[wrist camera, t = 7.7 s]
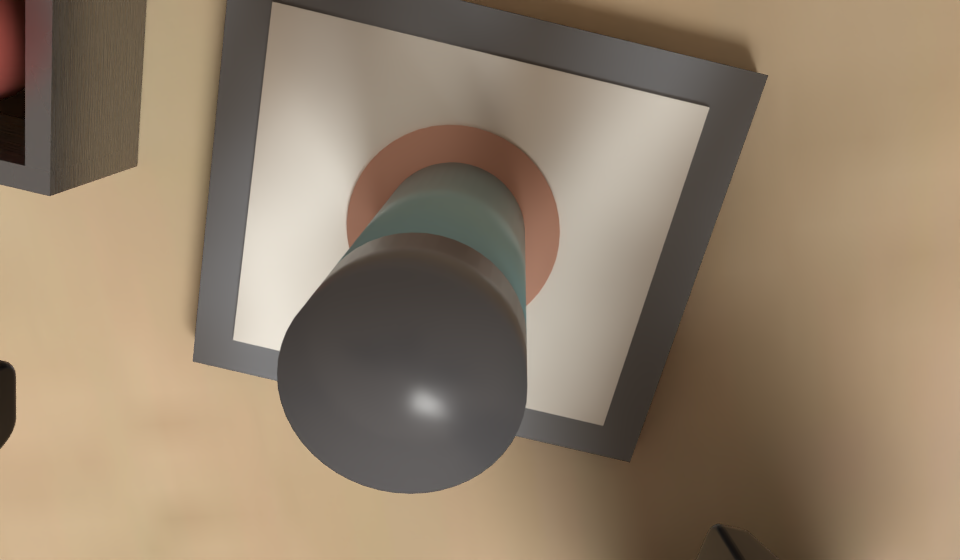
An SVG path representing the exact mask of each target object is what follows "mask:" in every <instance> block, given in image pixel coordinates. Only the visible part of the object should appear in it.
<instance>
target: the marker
mask: <svg viewBox="0 0 960 560" xmlns="http://www.w3.org/2000/svg"><path fill="white" fill-rule="evenodd" d="M277 382H278V391H279V395H280V400H281V404H282V406H283V409H284V412H285V415H286V417H287V419H288V421H289V423H290V425H291V427H292V429H293V430H294V432H295V433H296V435H297V436H298V437H299V439H300V440H301V442H302V443H303V444H304V445H305V446H306V447H307V449H308V450H309V451H310V452H311V453H312V454H313V455H314V456H315V457H316V458H318V459H319V460H320V461H321V462H322V463H323V464H325V465H326V466H328V467H329V468H330V469H332V470H333V471H335V472H336V473H338V474H340V475H342V476H343V477H345V478H347V479H349V480H351V481H354V482H356V483H359V484H361V485H363V486H367V487H370V488H374V489H377V490H381V491H387V492H393V493H407V494H414V493H428V492H434V491H440V490H444V489H447V488H451V487H454V486H457V485H459V484H461V483H464V482H466V481H468V480H470V479H472V478H474V477H475V476H477V475H479V474H481V473H482V472H483V471H485V470H486V469H487V468H489V467H490V466H491V465H492V464H494V463H495V462H496V461H497V460H498V458H499V457H500V456H501V455H502V454H503V453H504V452H505V451H506V449H507V448H508V447H509V445H510V444H511V443H512V441H513V439H514V437H515V435H516V434H517V432H518V430H519V427H520V425H521V422H522V419H523V417H524V412H525V407H526V402H527V329H526V265H525V226H524V220H523V215H522V212H521V209H520V207H519V204H518V202H517V201H516V199H515V197H514V195H513V194H512V193H511V191H510V190H509V189H508V188H507V187H506V185H505V184H504V183H503V182H502V181H500V180H499V179H498V178H497V177H495V176H494V175H492V174H491V173H489V172H488V171H486V170H483V169H481V168H479V167H476V166H473V165H470V164H464V163H455V162H448V163H439V164H435V165H431V166H428V167H425V168H423V169H421V170H419V171H417V172H415V173H413V174H412V175H411V176H409V177H408V178H407V179H405V180H404V181H403V182H402V183H401V184H400V185H399V187H398V188H397V189H396V190H395V192H394V193H393V194H392V195H391V197H390V198H389V199H388V200H387V202H386V203H385V204H384V205H383V207H382V208H381V209H380V210H379V212H378V213H377V214H376V216H375V217H374V218H373V219H372V221H371V222H370V223H369V224H368V226H367V227H366V228H365V229H364V231H363V232H362V233H361V234H360V236H359V237H358V238H357V239H356V241H355V242H354V243H353V244H352V246H351V247H350V248H349V249H348V251H347V252H346V253H345V254H344V256H343V257H342V258H341V260H340V261H339V262H338V263H337V265H336V266H335V267H334V268H333V270H332V271H331V272H330V273H329V275H328V276H327V277H326V278H325V280H324V281H323V282H322V283H321V285H320V286H319V287H318V288H317V290H316V291H315V292H314V293H313V295H312V296H311V297H310V298H309V300H308V301H307V302H306V304H305V305H304V306H303V307H302V309H301V310H300V311H299V312H298V314H297V315H296V316H295V317H294V319H293V321H292V322H291V324H290V326H289V328H288V329H287V331H286V334H285V336H284V339H283V341H282V344H281V348H280V352H279V357H278V366H277Z"/></svg>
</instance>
